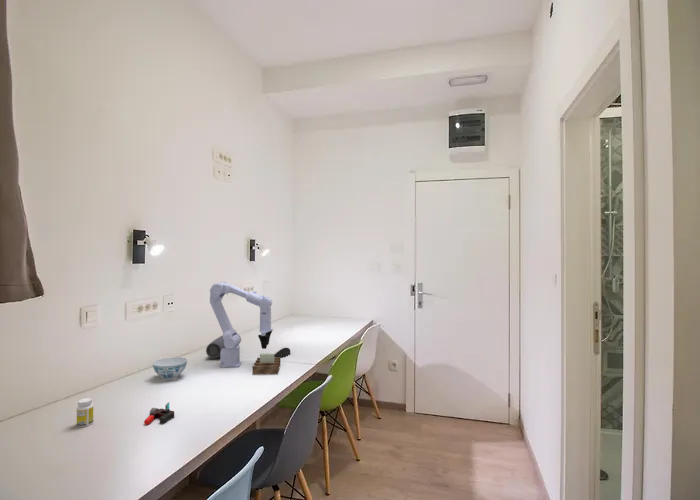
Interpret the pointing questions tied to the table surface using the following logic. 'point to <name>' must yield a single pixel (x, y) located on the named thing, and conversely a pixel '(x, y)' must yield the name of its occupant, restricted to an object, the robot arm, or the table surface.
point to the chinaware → (169, 367)
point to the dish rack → (266, 367)
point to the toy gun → (160, 415)
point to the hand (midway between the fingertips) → (265, 346)
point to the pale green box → (266, 357)
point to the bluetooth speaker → (215, 347)
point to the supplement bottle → (84, 412)
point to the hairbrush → (282, 353)
